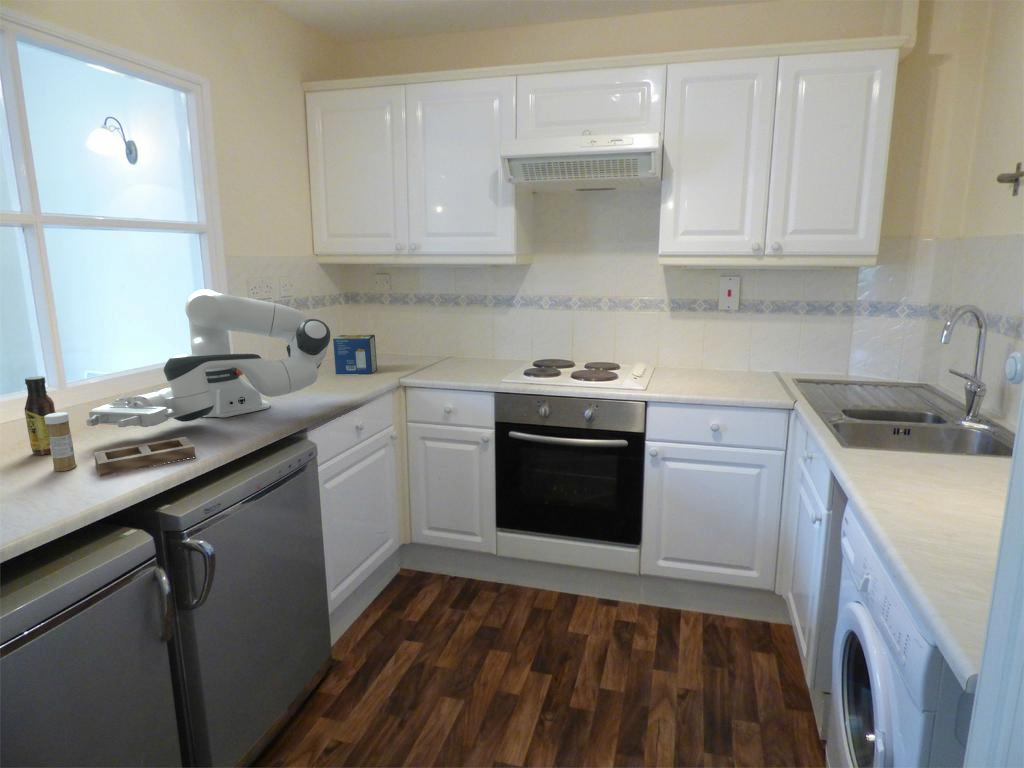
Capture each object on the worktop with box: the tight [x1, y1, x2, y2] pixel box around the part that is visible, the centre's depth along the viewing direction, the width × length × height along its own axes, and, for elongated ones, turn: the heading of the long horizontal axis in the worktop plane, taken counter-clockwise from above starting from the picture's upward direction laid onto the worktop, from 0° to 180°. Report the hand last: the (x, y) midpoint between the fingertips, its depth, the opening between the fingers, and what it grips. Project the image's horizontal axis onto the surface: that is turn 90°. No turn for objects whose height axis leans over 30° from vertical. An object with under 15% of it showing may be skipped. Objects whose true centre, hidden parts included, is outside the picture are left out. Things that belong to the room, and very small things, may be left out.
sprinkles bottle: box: [44, 411, 78, 472], centre depth 147 cm, size 5×5×13 cm
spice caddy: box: [93, 436, 196, 477], centre depth 152 cm, size 20×11×3 cm, turn 128°
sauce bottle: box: [24, 375, 57, 456], centre depth 159 cm, size 6×6×20 cm
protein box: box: [332, 334, 378, 375], centre depth 263 cm, size 10×15×16 cm
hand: (104, 423), depth 158 cm, fingers open, 8 cm apart
